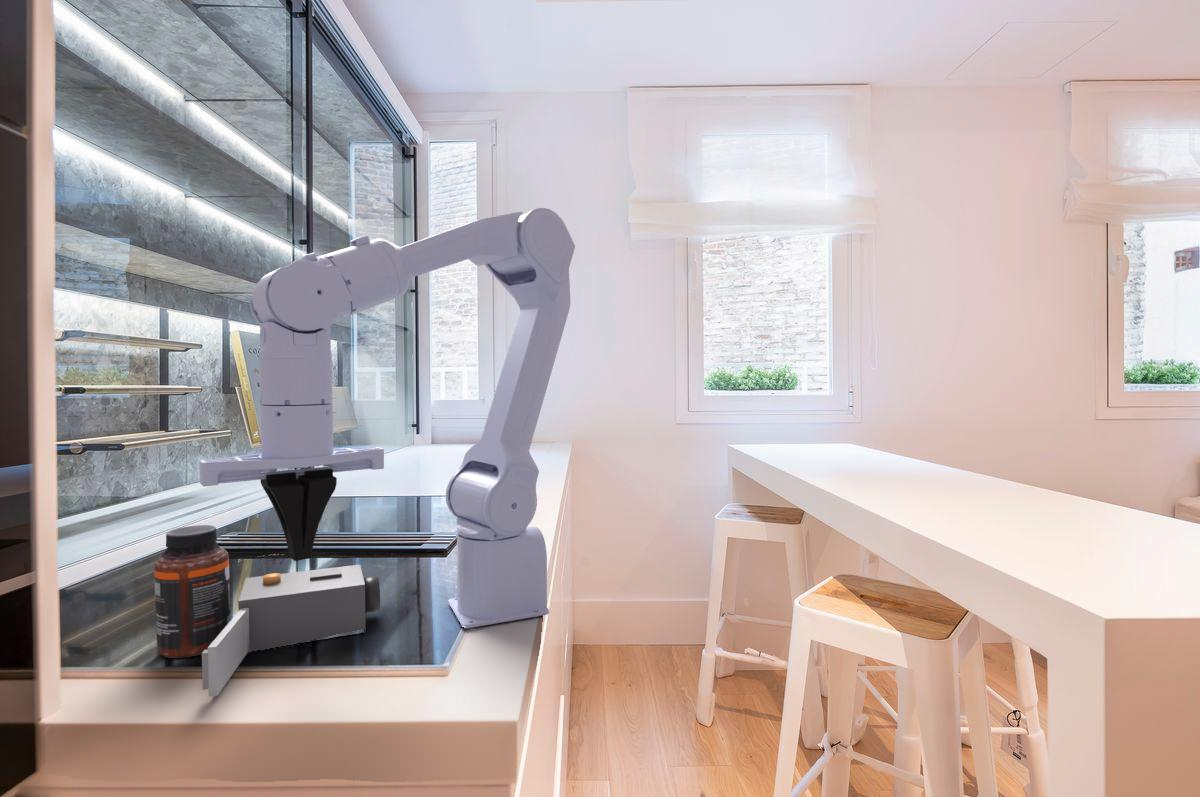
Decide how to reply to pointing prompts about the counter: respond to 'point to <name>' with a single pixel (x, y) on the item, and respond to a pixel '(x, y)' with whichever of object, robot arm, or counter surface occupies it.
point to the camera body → (307, 605)
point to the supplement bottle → (191, 592)
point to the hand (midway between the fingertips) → (300, 557)
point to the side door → (226, 653)
